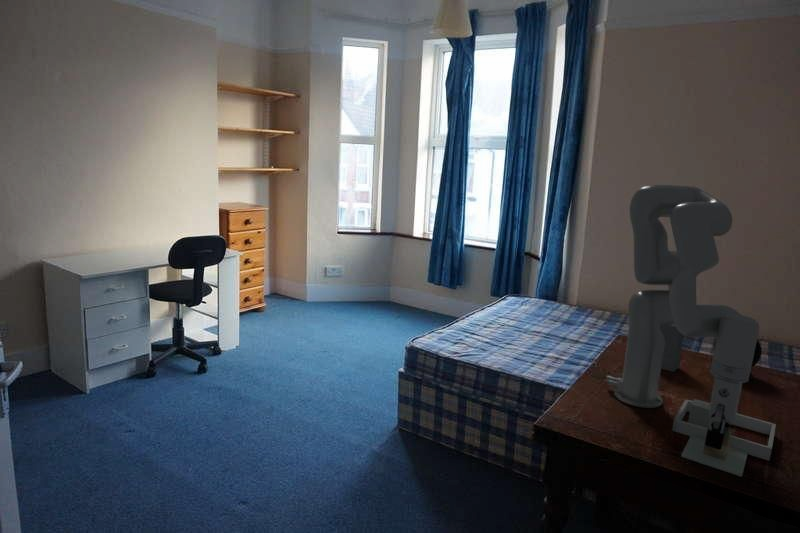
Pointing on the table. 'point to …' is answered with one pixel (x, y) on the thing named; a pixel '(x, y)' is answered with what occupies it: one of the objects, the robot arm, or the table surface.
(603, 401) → the table surface
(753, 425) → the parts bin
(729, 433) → the labelled block
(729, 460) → the mat
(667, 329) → the skincare box
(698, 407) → the plain block
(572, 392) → the table surface
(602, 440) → the table surface
